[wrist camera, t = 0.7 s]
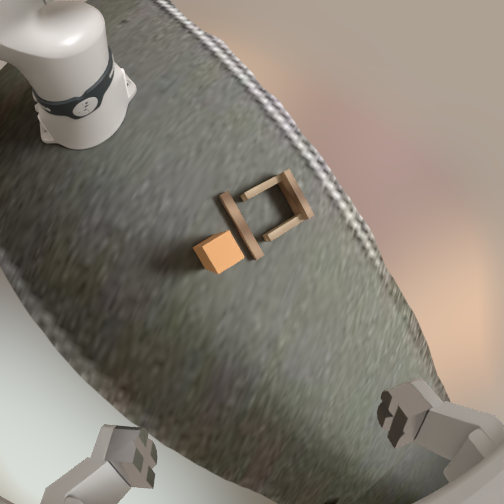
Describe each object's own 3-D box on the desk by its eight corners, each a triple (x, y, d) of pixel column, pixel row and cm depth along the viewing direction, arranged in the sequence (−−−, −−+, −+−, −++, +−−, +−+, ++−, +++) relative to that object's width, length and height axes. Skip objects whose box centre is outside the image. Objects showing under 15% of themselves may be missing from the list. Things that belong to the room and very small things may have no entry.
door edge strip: (218, 196, 45) (219, 194, 44) (226, 192, 46) (227, 190, 45) (254, 259, 47) (256, 260, 46) (261, 255, 48) (264, 255, 47)
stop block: (192, 247, 44) (202, 246, 35) (213, 234, 45) (229, 230, 36) (205, 269, 45) (218, 274, 35) (226, 256, 46) (244, 257, 36)
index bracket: (239, 195, 46) (247, 190, 43) (279, 174, 49) (289, 168, 45) (265, 241, 48) (274, 240, 44) (302, 218, 50) (314, 215, 46)
